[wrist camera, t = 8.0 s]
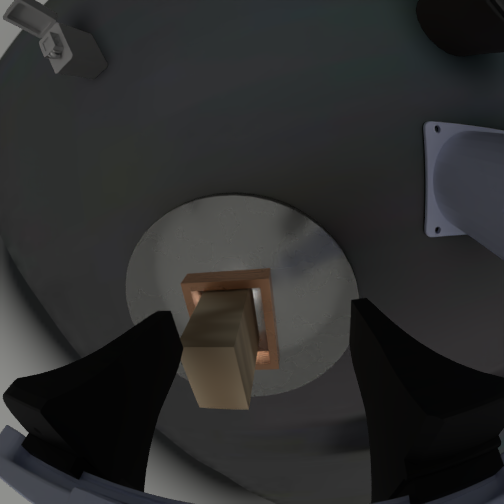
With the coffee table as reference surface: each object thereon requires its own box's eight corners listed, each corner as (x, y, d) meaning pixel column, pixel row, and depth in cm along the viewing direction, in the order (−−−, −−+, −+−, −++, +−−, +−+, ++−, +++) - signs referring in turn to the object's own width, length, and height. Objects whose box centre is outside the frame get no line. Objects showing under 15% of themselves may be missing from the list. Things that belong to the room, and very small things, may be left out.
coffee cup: (396, 47, 14) (476, -7, 4) (397, -33, 10) (449, -100, 1) (487, 91, 13) (582, 87, 4) (484, 10, 10) (557, -20, 1)
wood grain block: (250, 279, 20) (233, 347, 13) (259, 337, 22) (248, 409, 15) (208, 282, 20) (176, 346, 14) (221, 338, 22) (199, 407, 16)
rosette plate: (356, 181, 17) (366, 187, 15) (349, 382, 24) (352, 402, 22) (106, 211, 20) (88, 220, 18) (166, 384, 27) (158, 401, 24)
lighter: (108, 65, 16) (33, 47, 8) (92, 80, 16) (15, 70, 9) (81, 13, 14) (15, -10, 6) (66, 27, 14) (0, 10, 7)
